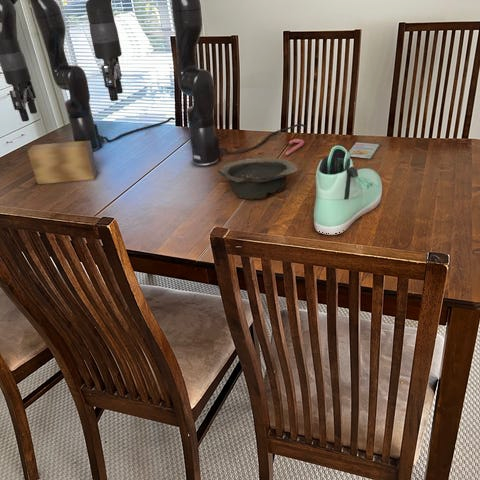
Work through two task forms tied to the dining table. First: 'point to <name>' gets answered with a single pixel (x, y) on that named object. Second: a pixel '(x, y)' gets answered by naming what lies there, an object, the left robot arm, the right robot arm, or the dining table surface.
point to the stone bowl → (257, 176)
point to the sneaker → (343, 192)
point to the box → (63, 162)
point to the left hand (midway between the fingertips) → (30, 117)
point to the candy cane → (295, 146)
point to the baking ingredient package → (363, 150)
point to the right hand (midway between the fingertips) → (117, 96)
